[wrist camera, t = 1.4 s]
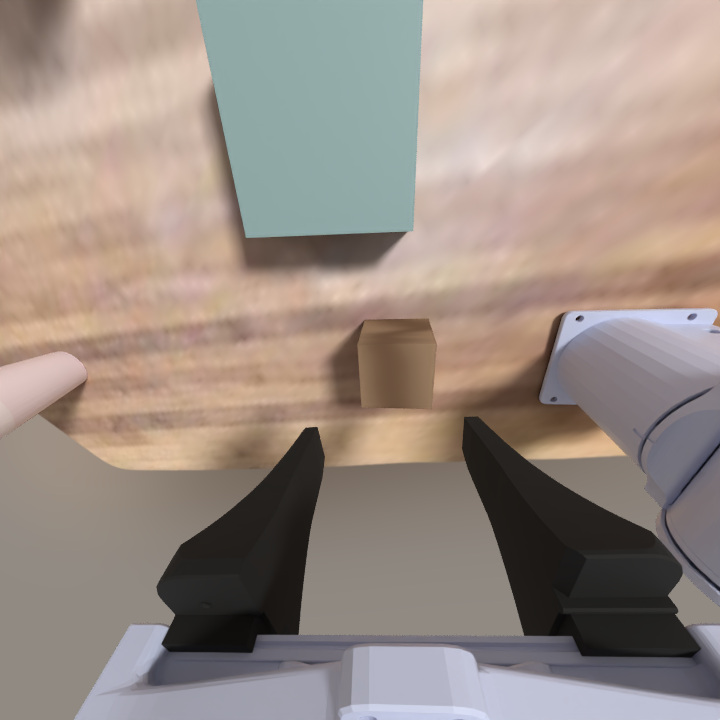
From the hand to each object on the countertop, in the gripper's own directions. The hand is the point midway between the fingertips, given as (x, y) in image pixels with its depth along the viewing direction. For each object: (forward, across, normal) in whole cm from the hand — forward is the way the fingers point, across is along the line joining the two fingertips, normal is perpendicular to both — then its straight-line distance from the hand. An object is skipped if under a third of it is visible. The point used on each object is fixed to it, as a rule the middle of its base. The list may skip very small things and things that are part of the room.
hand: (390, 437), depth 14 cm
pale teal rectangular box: (+11, +2, -14) cm, 18 cm away
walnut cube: (+11, -1, 0) cm, 11 cm away
